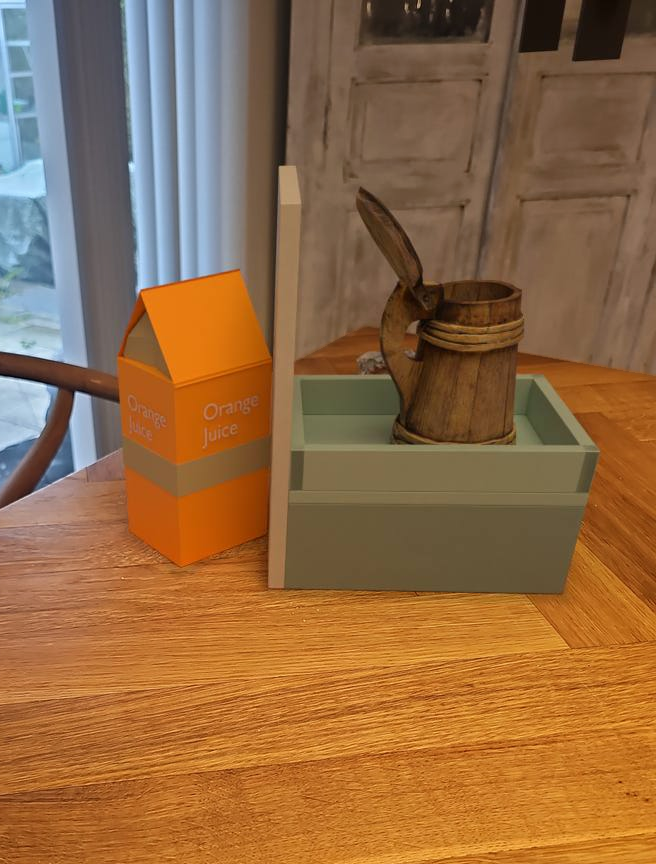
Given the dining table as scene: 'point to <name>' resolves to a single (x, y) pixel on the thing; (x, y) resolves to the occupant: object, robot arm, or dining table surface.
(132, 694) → the dining table surface
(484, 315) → the wooden mug
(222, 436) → the orange juice
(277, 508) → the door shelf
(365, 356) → the grey rock
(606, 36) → the robot arm
